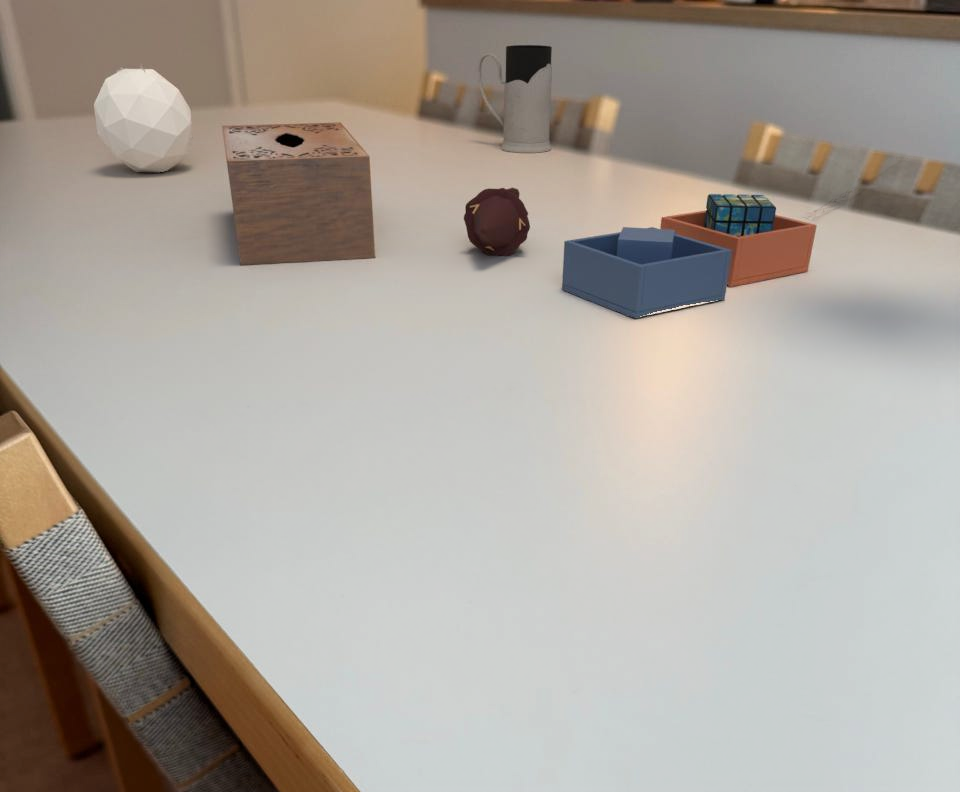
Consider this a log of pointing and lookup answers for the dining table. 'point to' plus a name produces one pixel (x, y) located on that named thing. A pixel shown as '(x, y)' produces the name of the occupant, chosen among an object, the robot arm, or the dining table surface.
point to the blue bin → (644, 275)
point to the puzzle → (739, 214)
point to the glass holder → (524, 98)
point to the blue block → (645, 244)
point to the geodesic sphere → (143, 120)
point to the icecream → (497, 221)
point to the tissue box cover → (299, 193)
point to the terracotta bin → (753, 246)
